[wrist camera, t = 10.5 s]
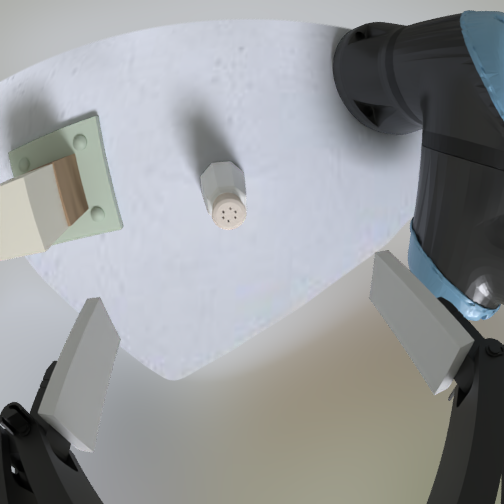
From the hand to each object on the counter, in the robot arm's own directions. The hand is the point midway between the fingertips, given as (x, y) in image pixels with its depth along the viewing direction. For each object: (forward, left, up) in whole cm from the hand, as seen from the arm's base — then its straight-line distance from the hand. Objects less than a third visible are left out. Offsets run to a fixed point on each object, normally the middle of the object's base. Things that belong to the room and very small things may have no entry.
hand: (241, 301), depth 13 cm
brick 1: (+20, -4, -21) cm, 29 cm away
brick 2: (+20, -4, -16) cm, 26 cm away
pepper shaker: (0, 0, -23) cm, 23 cm away
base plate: (+20, -4, -22) cm, 30 cm away
